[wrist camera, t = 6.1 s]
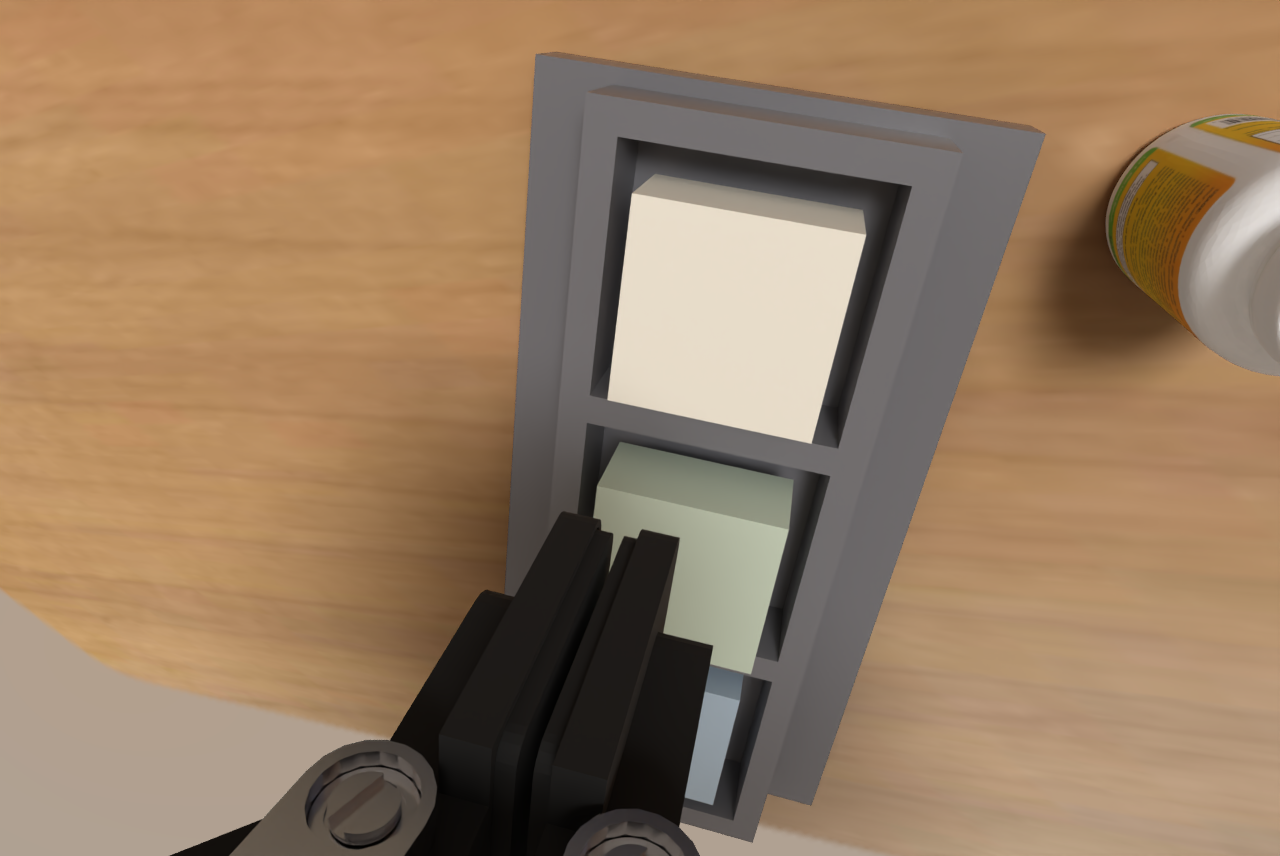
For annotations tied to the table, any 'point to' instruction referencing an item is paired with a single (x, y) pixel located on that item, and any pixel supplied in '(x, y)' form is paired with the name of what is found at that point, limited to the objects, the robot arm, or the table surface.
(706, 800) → the blue key
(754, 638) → the sage key
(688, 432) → the grey compartment tray
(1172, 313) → the supplement bottle
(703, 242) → the cream key
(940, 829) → the table surface
